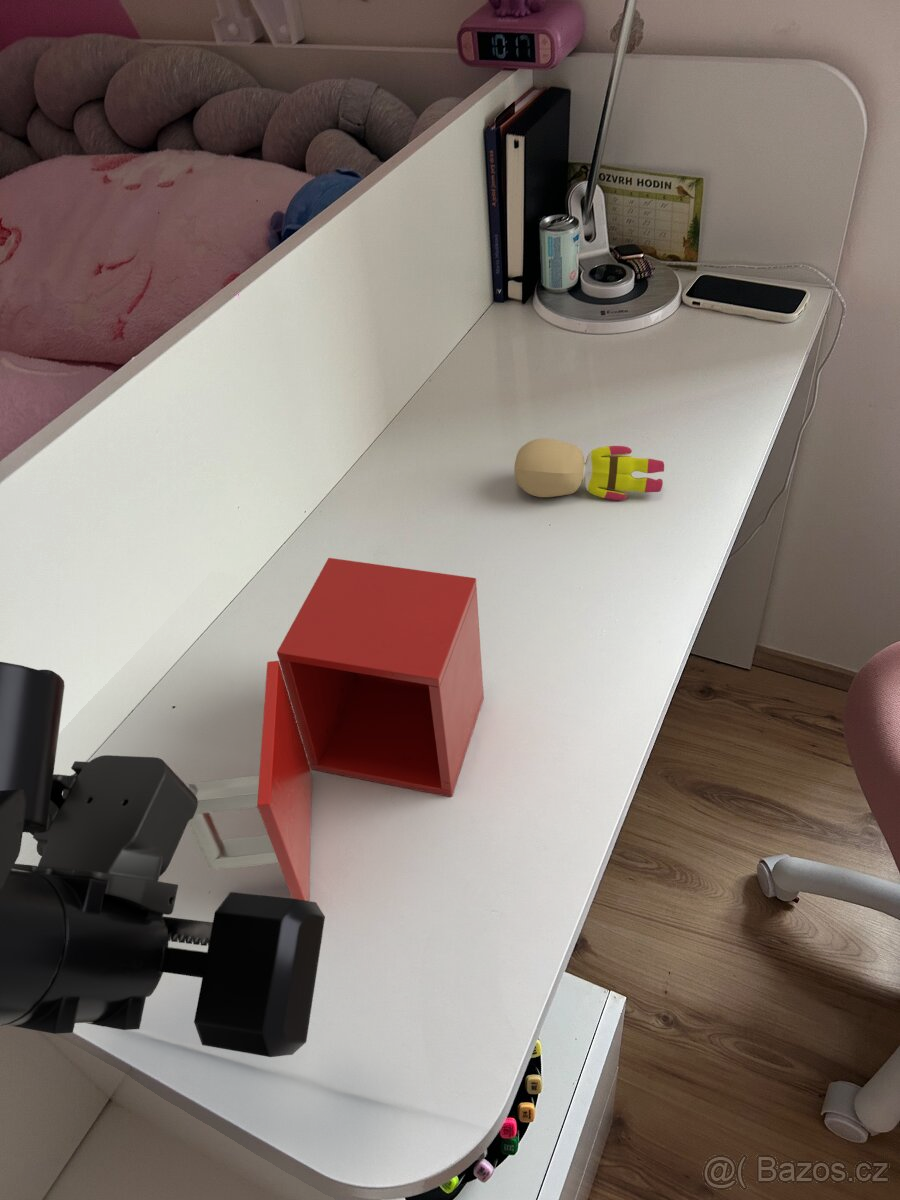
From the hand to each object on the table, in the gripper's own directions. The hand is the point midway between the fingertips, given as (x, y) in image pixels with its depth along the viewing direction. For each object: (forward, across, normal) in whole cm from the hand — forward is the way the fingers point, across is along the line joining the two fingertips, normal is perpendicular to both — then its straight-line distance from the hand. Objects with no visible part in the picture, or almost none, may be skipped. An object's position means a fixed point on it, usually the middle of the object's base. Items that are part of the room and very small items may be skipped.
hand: (227, 959), depth 50 cm
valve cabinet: (+21, +1, -18) cm, 28 cm away
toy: (+38, -9, -47) cm, 61 cm away
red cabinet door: (+15, +8, -8) cm, 18 cm away
